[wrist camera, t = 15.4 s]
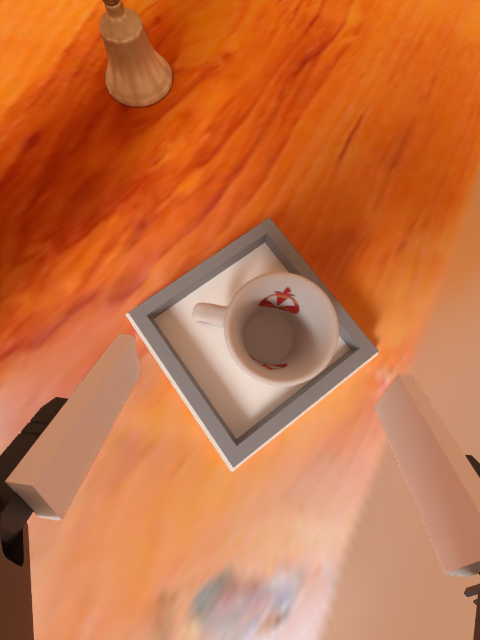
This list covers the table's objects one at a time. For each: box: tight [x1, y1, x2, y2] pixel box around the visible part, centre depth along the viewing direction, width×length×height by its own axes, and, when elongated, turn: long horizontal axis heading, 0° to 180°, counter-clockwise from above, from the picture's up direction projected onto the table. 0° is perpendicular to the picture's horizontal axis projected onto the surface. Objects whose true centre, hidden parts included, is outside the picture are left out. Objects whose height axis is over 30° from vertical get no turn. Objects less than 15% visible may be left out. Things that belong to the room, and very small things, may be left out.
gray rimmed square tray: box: [126, 217, 378, 472], centre depth 25 cm, size 18×18×3 cm
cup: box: [192, 272, 339, 386], centre depth 21 cm, size 11×8×8 cm
